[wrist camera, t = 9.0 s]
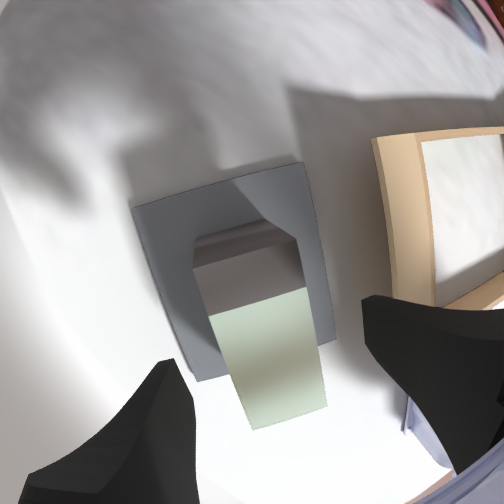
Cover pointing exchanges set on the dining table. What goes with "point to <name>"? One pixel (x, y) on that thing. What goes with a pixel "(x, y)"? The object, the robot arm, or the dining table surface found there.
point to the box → (261, 319)
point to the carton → (420, 219)
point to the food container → (498, 10)
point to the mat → (220, 218)
